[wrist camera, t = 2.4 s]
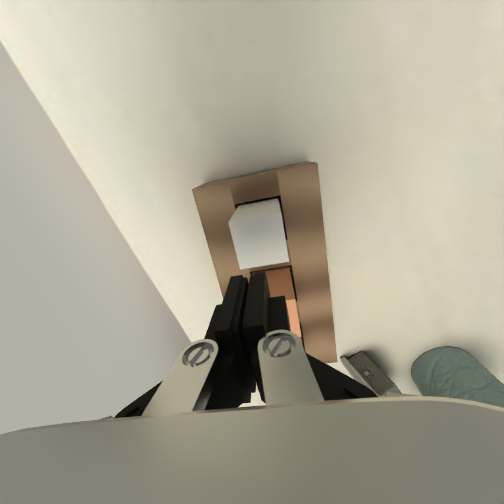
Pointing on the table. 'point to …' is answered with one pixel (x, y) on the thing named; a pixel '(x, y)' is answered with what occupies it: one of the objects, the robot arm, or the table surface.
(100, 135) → the table surface
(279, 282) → the terracotta peg
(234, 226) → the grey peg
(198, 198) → the socket board
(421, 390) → the teal plant pot
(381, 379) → the electrical switch
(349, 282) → the table surface
